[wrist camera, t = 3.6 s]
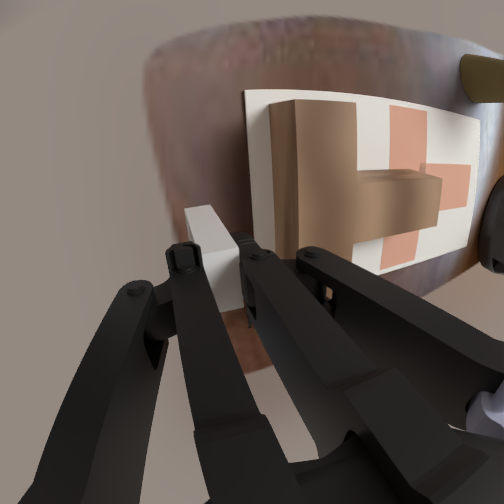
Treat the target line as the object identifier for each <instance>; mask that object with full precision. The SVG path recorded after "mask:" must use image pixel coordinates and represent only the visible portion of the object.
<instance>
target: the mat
mask: <svg viewBox="0 0 504 504" xmlns="http://www.w3.org/2000/svg"><path fill="white" fill-rule="evenodd" d="M244 96H245V110H246V125H247V139H248V154H249V169H250V184H251V198H252V213H253V229H254V240H255V241H256V242H257V244H258V245H259V246H260V247H261V248H262V249H268V250H271V251H273V252H274V253H275V254H276V251H275V223H274V199H273V177H272V157H271V138H270V121H269V105H268V104H271V103H276V102H282V101H287V100H293V99H307V100H328V101H343V102H354V103H356V110H357V171H360V170H382V169H412V170H415V171H419V172H422V173H425V174H429V175H432V176H435V177H438V178H442V190H441V199H440V207H439V214H438V221H437V226H435V227H430V228H426V229H421V230H416V231H412V232H407V233H403V234H398V235H393V236H389V237H384V238H379V239H375V240H370V241H365V242H360V243H356V244H353V254H352V263H354V264H356V265H358V266H360V267H362V268H364V269H366V270H368V271H370V272H371V273H373V274H375V275H380V274H383V273H386V272H390V271H393V270H396V269H400V268H403V267H406V266H409V265H412V264H415V263H419V262H422V261H425V260H428V259H431V258H434V257H437V256H440V255H443V254H446V253H449V252H452V251H455V250H457V249H460V248H463V247H466V246H467V241H468V236H469V231H470V226H471V220H472V214H473V208H474V201H475V194H476V185H477V176H478V164H479V147H480V120H477V119H474V118H471V117H467V116H464V115H460V114H457V113H453V112H449V111H445V110H441V109H437V108H433V107H429V106H424V105H419V104H414V103H409V102H404V101H399V100H393V99H387V98H380V97H373V96H366V95H358V94H349V93H338V92H326V91H309V90H244Z"/></svg>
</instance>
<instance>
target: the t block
mask: <svg viewBox="0 0 504 504" xmlns="http://www.w3.org/2000/svg"><path fill="white" fill-rule="evenodd" d="M268 105H269V121H270V138H271V157H272V177H273V199H274V223H275V251H276V255H277V256H278V257H279V258H280V259H296V252H297V250H299V249H301V248H304V247H307V246H310V247H311V246H315V247H320V248H323V249H325V250H327V251H330V252H332V253H334V254H336V255H338V256H340V257H342V258H344V259H346V260H348V261H350V262H352V254H353V244H356V243H360V242H365V241H370V240H375V239H379V238H384V237H389V236H393V235H398V234H403V233H407V232H412V231H416V230H421V229H426V228H430V227H435V226H437V221H438V214H439V207H440V199H441V190H442V178H438V177H435V176H432V175H429V174H425V173H422V172H419V171H415V170H412V169H382V170H360V171H357V110H356V103H354V102H343V101H328V100H307V99H293V100H287V101H282V102H276V103H271V104H268ZM326 296H327V297H328V298H330V299H331V298H332V290H331V289H330V288H328V287H327V293H326Z"/></svg>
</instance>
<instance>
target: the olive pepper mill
mask: <svg viewBox="0 0 504 504" xmlns="http://www.w3.org/2000/svg"><path fill="white" fill-rule="evenodd" d="M460 74H461V80H462V84H463V87H464V89H465V92H466V94H467V95H468V97H469V99H470V100H471V101H473V102H474V103H504V60H500V59H495V58H490V57H484V56H478V55H471V54H465V55H464V56H463V57H462V59H461V62H460Z"/></svg>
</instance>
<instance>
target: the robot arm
mask: <svg viewBox="0 0 504 504" xmlns="http://www.w3.org/2000/svg"><path fill="white" fill-rule="evenodd" d="M184 210H185V217H186V223H187V230H188V237H189V242H184V243H179V244H173V245H172V246H171V247H170V248H169V249H167V250H166V253H165V255H166V260H167V264H168V269H169V274H170V277H169V279H168V280H167V281H165V282H164V283H162V284H160V285H158V286H155V287H153V285H152V283H151V282H149V281H146V280H138V281H132V282H129V283H127V284H126V285H124V286H123V287H122V288H121V289H120V290H119V291H118V293H117V295H116V297H115V298H114V300H113V302H112V304H111V305H110V307H109V309H108V311H107V313H106V315H105V316H104V318H103V320H102V322H101V324H100V326H99V328H98V330H97V331H96V333H95V335H94V337H93V339H92V341H91V343H90V345H89V347H88V349H87V351H86V353H85V355H84V357H83V359H82V361H81V363H80V365H79V367H78V369H77V372H76V374H75V376H74V378H73V380H72V382H71V384H70V387H69V389H68V391H67V393H66V396H65V398H64V400H63V402H62V405H61V407H60V410H59V412H58V414H57V417H56V419H55V422H54V425H53V427H52V430H51V432H50V435H49V437H48V440H47V443H46V445H45V448H44V451H43V454H42V457H41V460H40V462H39V465H38V469H37V472H36V475H35V478H34V481H33V483H32V485H31V486H30V488H29V489H28V490H27V491H26V493H25V494H24V496H23V497H22V498H21V500H20V501H19V502H18V504H139V502H140V494H141V487H142V480H143V474H144V467H145V461H146V454H147V447H148V443H149V437H150V431H151V425H152V420H153V415H154V410H155V405H156V400H157V395H158V390H159V385H160V381H161V376H162V371H163V367H164V362H165V358H166V353H167V349H168V344H169V342H168V338H170V337H172V336H174V335H176V334H177V336H178V342H179V349H180V355H181V361H182V366H183V372H184V378H185V383H186V388H187V393H188V398H189V403H190V407H191V413H192V417H193V422H194V427H195V431H194V439H195V444H196V448H197V452H198V457H199V461H200V464H201V468H202V472H203V476H204V480H205V483H206V487H207V490H208V494H209V497H210V499H209V500H208V501H206V502H205V503H204V504H504V342H502V341H499V340H496V339H493V338H492V337H490V336H488V335H487V334H484V333H483V332H481V331H480V330H478V329H476V328H474V327H472V326H471V325H469V324H467V323H465V322H464V321H462V320H460V319H458V318H456V317H454V316H453V315H451V314H449V313H447V312H445V311H444V310H442V309H440V308H438V307H436V306H434V305H432V304H431V303H429V302H427V301H425V300H423V299H421V298H419V297H418V296H416V295H414V294H412V293H410V292H408V291H406V290H404V289H402V288H401V287H399V286H397V285H395V284H393V283H391V282H389V281H387V280H385V279H383V278H381V277H379V276H377V275H375V274H373V273H371V272H370V271H368V270H366V269H364V268H362V267H360V266H358V265H356V264H354V263H352V262H350V261H348V260H346V259H344V258H342V257H340V256H338V255H336V254H334V253H332V252H330V251H327V250H325V249H323V248H320V247H315V246H311V247H310V246H307V247H304V248H301V249H299V250H297V252H296V259H280V258H279V257H278V256H277V255H276V254H275V253H274V252H273V251H271V250H268V249H262V248H261V247H260V246H259V245H258V244H257V242H256V241H255V240H254V239H253V238H252V237H251V235H250V234H248V233H245V232H243V231H242V232H236V233H230V234H229V232H228V231H227V229H226V228H225V226H224V225H223V223H222V222H221V220H220V219H219V217H218V216H217V214H216V213H215V211H214V210H213V208H212V207H211V205H204V206H198V207H192V208H186V209H184ZM479 260H480V263H481V265H482V266H483V267H485V268H487V269H488V270H490V271H491V272H493V273H497V274H503V275H504V176H503V177H502V178H501V179H500V180H499V181H498V183H497V184H496V186H495V188H494V190H493V192H492V194H491V196H490V199H489V202H488V204H487V207H486V211H485V214H484V218H483V222H482V226H481V231H480V238H479ZM327 287H328V288H330V289H331V290H332V298H331V299H330V298H328V297H327V296H326V293H327ZM243 297H244V299H245V301H246V304H247V315H248V325H249V328H251V324H253V326H254V328H255V330H256V332H257V334H258V336H259V337H260V339H261V341H262V343H263V345H264V347H265V349H266V351H267V353H268V355H269V357H270V359H271V361H272V363H273V365H274V367H275V369H276V371H277V373H278V374H279V376H280V378H281V380H282V382H283V384H284V386H285V388H286V389H287V391H288V394H289V395H290V397H291V399H292V401H293V403H294V405H295V407H296V408H297V410H298V412H299V414H300V416H301V418H302V420H303V422H304V423H305V425H306V427H307V429H308V431H309V432H310V434H311V436H312V438H313V440H314V442H315V444H316V447H317V451H318V456H319V459H316V460H309V461H302V462H295V463H288V461H287V459H286V457H285V455H284V453H283V451H282V448H281V446H280V444H279V442H278V440H277V438H276V436H275V433H274V431H273V429H272V427H271V425H270V423H269V421H268V419H267V417H266V416H265V415H264V414H261V413H260V412H259V410H258V408H257V405H256V403H255V400H254V398H253V395H252V393H251V391H250V388H249V386H248V383H247V381H246V378H245V376H244V373H243V371H242V369H241V366H240V363H239V361H238V358H237V356H236V353H235V351H234V348H233V346H232V343H231V340H230V338H229V335H228V333H227V330H226V327H225V325H224V322H223V319H222V317H221V314H220V313H221V312H225V311H230V310H234V309H239V308H243V307H244V299H243ZM447 423H448V424H450V425H452V426H454V427H456V428H459V429H462V430H465V431H461V430H457V429H453V428H450V426H449V425H448V424H447Z"/></svg>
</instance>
